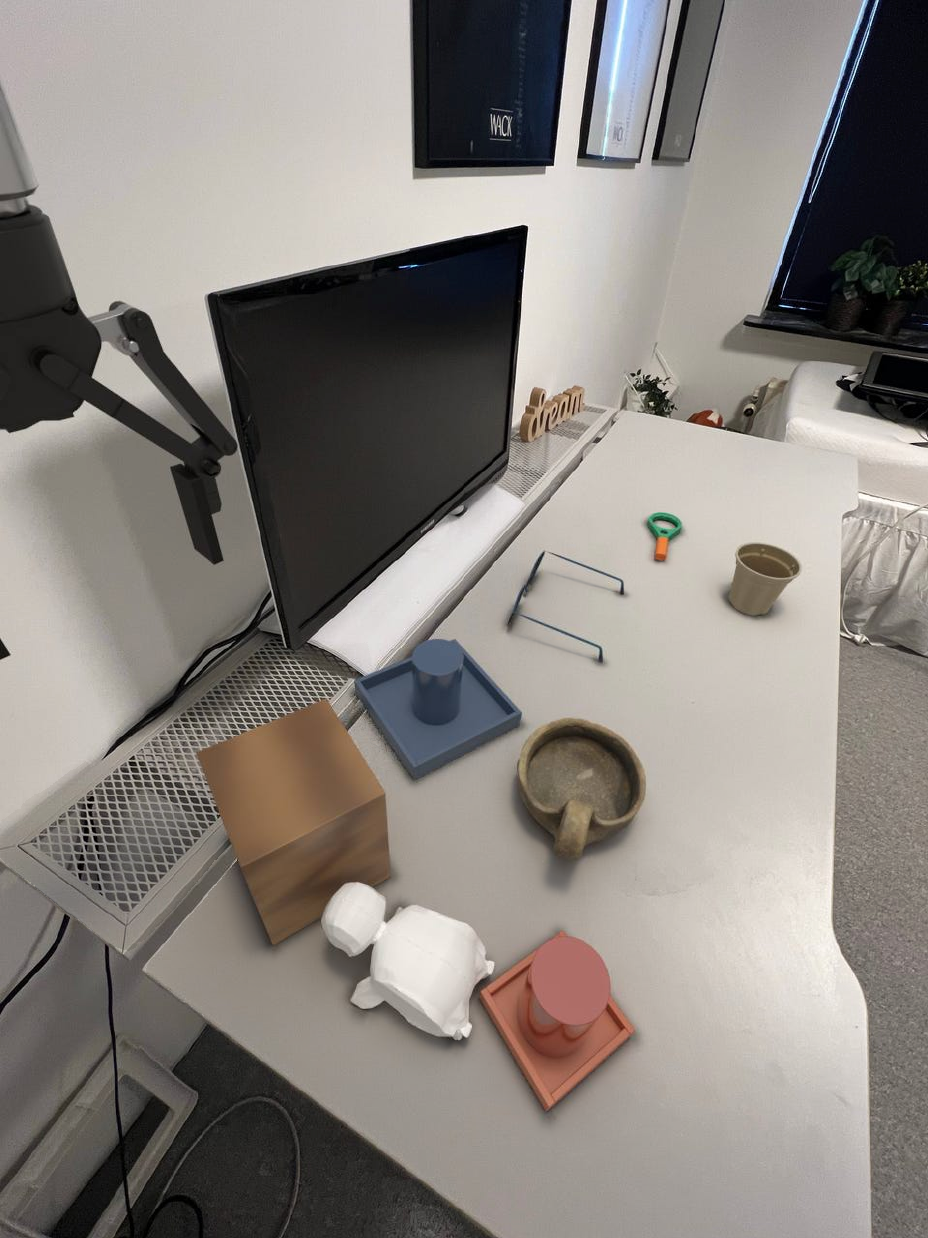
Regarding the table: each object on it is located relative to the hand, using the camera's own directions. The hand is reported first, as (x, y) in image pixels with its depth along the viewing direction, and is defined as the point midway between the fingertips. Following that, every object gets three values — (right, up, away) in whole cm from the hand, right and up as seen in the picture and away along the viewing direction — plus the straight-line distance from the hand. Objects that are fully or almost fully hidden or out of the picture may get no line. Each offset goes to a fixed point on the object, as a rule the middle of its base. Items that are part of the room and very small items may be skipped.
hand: (113, 596), depth 39 cm
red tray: (+31, -35, +12) cm, 48 cm away
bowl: (+35, -23, +27) cm, 49 cm away
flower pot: (+68, +1, +56) cm, 88 cm away
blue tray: (+19, -13, +36) cm, 43 cm away
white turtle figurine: (+18, -33, +14) cm, 40 cm away
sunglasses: (+39, -1, +52) cm, 65 cm away
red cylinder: (+30, -35, +11) cm, 48 cm away
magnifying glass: (+59, +13, +69) cm, 92 cm away
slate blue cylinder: (+19, -13, +36) cm, 43 cm away
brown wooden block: (+7, -26, +21) cm, 34 cm away
